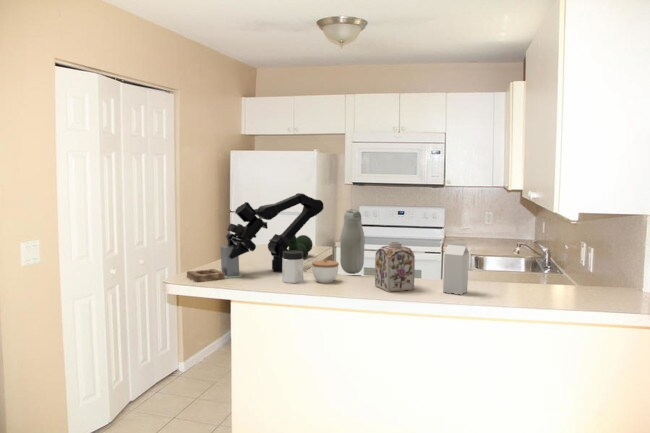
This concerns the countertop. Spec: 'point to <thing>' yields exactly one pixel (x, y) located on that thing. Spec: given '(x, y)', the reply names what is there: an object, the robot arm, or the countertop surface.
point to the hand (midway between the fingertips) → (227, 257)
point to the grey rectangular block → (229, 261)
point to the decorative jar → (394, 268)
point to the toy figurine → (301, 244)
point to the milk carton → (456, 268)
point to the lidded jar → (325, 270)
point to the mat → (234, 276)
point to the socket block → (205, 275)
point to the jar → (292, 266)
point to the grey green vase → (352, 243)
